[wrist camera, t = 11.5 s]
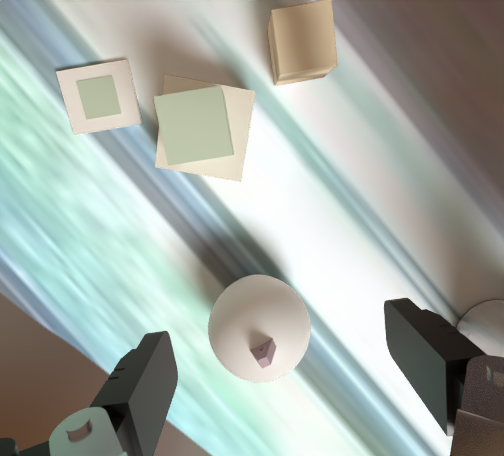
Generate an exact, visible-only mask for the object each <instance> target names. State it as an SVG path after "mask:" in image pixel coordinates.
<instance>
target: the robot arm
mask: <svg viewBox="0 0 504 456" xmlns="http://www.w3.org/2000/svg"><path fill="white" fill-rule="evenodd" d="M384 314H385V328H386V341H387V346H388V349H389V352H390V354H391V356H392V358H393V360H394V361H395V362H396V364H397V365H398V367H399V368H400V370H401V371H402V372H403V374H404V375H405V377H406V378H407V380H408V381H409V382H410V384H411V385H412V387H413V388H414V390H415V391H416V393H417V394H418V395H419V397H420V398H421V400H422V401H423V403H424V404H425V405H426V407H427V408H428V410H429V411H430V413H431V414H432V415H433V417H434V418H435V420H436V421H437V423H438V424H439V425H440V427H441V428H442V430H443V431H444V433H445V434H446V435H447V436H453V440H452V446H451V452H450V456H504V300H491V301H486V302H483V303H480V304H478V305H477V306H475V307H473V308H472V309H470V310H469V311H468V312H467V313H466V314H465V315H464V316H463V317H462V318H461V320H460V321H459V323H458V325H457V327H456V328H455V327H454V326H451V324H450V323H449V322H448V321H447V320H445V319H444V318H443V317H442V316H440V315H438V314H436V313H434V312H431V311H429V310H427V309H424V310H421V309H420V308H419V307H417V306H416V305H415V304H414V303H413V302H412V301H411V300H410V299H408V298H401V299H394V300H387V301H385V303H384ZM177 380H178V372H177V366H176V361H175V357H174V353H173V348H172V344H171V340H170V336H169V333H168V332H167V331H162V332H155V333H148V334H145V336H144V337H143V339H142V340H141V342H140V344H139V345H138V347H137V349H132V350H131V351H130V352H128V353H127V354H126V355H125V356H124V357H123V358H121V359H120V361H119V362H118V364H117V365H116V367H115V368H114V371H113V372H112V373H111V375H110V376H109V378H108V380H107V381H106V382H105V384H104V385H103V387H102V388H101V390H100V391H99V393H98V395H97V396H96V397H95V399H94V401H93V402H92V404H91V405H90V407H89V408H86V409H84V410H81V411H78V412H76V413H75V414H73V415H71V416H70V417H68V418H66V419H65V420H64V421H63V422H61V423H60V424H59V425H58V426H57V428H56V429H55V430H54V431H53V433H52V435H51V437H50V439H49V441H46V442H44V443H41V444H38V445H36V446H33V447H31V448H28V449H25V450H23V451H20V452H19V451H18V448H17V446H16V444H15V441H14V440H13V439H11V438H0V456H153V455H154V452H155V449H156V446H157V443H158V440H159V437H160V434H161V431H162V428H163V425H164V422H165V419H166V416H167V413H168V410H169V407H170V404H171V401H172V398H173V395H174V392H175V389H176V386H177Z"/></svg>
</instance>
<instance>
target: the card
mask: <svg viewBox="0 0 504 456" xmlns="http://www.w3.org/2000/svg"><path fill="white" fill-rule="evenodd" d="M56 74H57V77H58V81H59V84H60V88H61V91H62V95H63V98H64V102H65V105H66V109H67V112H68V116H69V119H70V122H71V126H72V129H73V133H74V135H80V134H86V133H92V132H98V131H104V130H110V129H116V128H122V127H127V126H133V125H139V124H143V122H142V118H141V114H140V109H139V105H138V101H137V97H136V92H135V88H134V84H133V79H132V75H131V71H130V67H129V62H128V60H120V61H115V62H109V63H103V64H97V65H91V66H86V67H80V68H74V69H68V70H62V71H56Z"/></svg>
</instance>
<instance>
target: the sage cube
mask: <svg viewBox="0 0 504 456" xmlns="http://www.w3.org/2000/svg"><path fill="white" fill-rule="evenodd" d="M153 99H154V103H155V108H156V112H157V117H158V122H159V126H160V131H161V135H162V140H163V145H164V149H165V154H166V158H167V163H168V166H169V165H175V164H182V163H188V162H194V161H200V160H206V159H213V158H219V157H225V156H231V155H234V150H233V144H232V138H231V132H230V125H229V119H228V113H227V107H226V101H225V96H224V93H223V91H222V88H221V86H215V87H209V88H203V89H197V90H191V91H185V92H178V93H172V94H166V95H160V96H154V97H153Z"/></svg>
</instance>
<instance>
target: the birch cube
mask: <svg viewBox="0 0 504 456" xmlns="http://www.w3.org/2000/svg"><path fill="white" fill-rule="evenodd" d="M267 34H268V41H269V48H270V55H271V62H272V69H273V76H274V83H275V86H278V85H284V84H289V83H295V82H300V81H306V80H311V79H317V78H323V77H325V76H326V75H327V74H328V73H329V72H330V71H331V70H332V69H333V68H334V67H335V66H337V65H338V63H337V53H336V42H335V32H334V21H333V11H332V0H323V1H318V2H312V3H307V4H301V5H296V6H291V7H285V8H280V9H274V10H271V15H270V20H269V25H268V30H267Z"/></svg>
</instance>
